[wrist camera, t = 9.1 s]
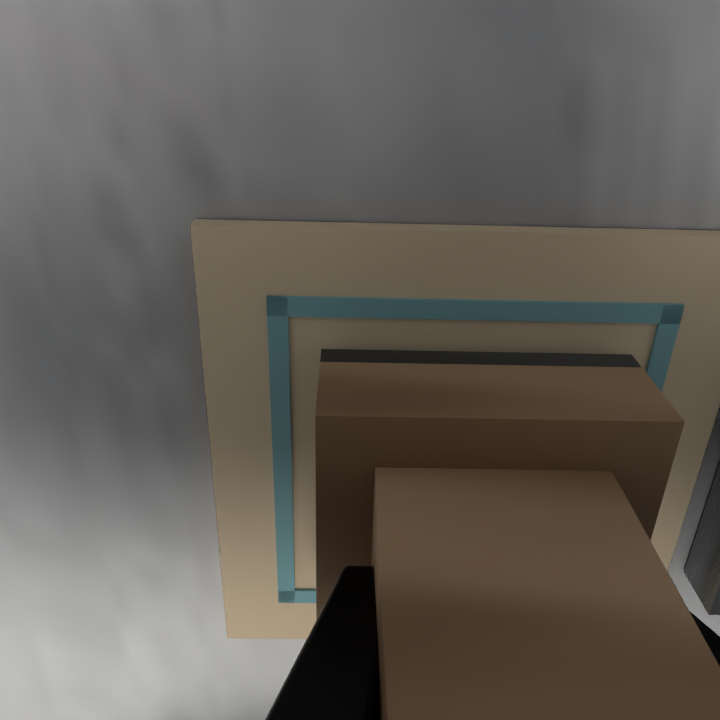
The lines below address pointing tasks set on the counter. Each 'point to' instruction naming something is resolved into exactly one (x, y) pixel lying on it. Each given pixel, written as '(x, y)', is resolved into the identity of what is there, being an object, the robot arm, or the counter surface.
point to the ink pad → (707, 553)
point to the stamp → (508, 534)
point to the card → (419, 333)
